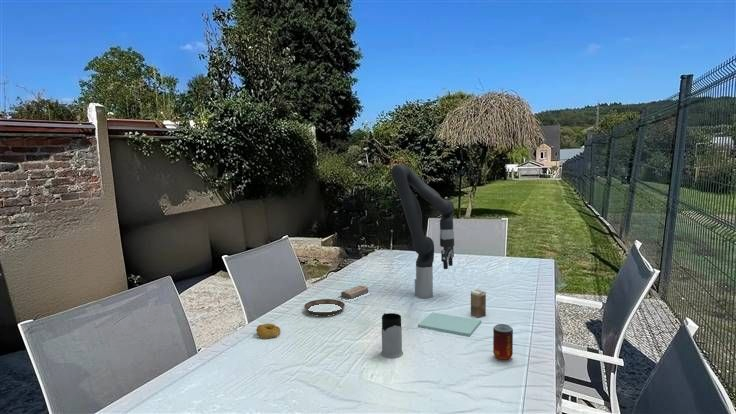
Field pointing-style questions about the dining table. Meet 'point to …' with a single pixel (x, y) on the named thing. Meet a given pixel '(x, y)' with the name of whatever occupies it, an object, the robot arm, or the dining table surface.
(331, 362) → the dining table surface
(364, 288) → the packaged product
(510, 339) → the soda can
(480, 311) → the brown tall square block
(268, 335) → the bagel
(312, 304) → the plant saucer
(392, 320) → the glass holder
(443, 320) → the sage board
